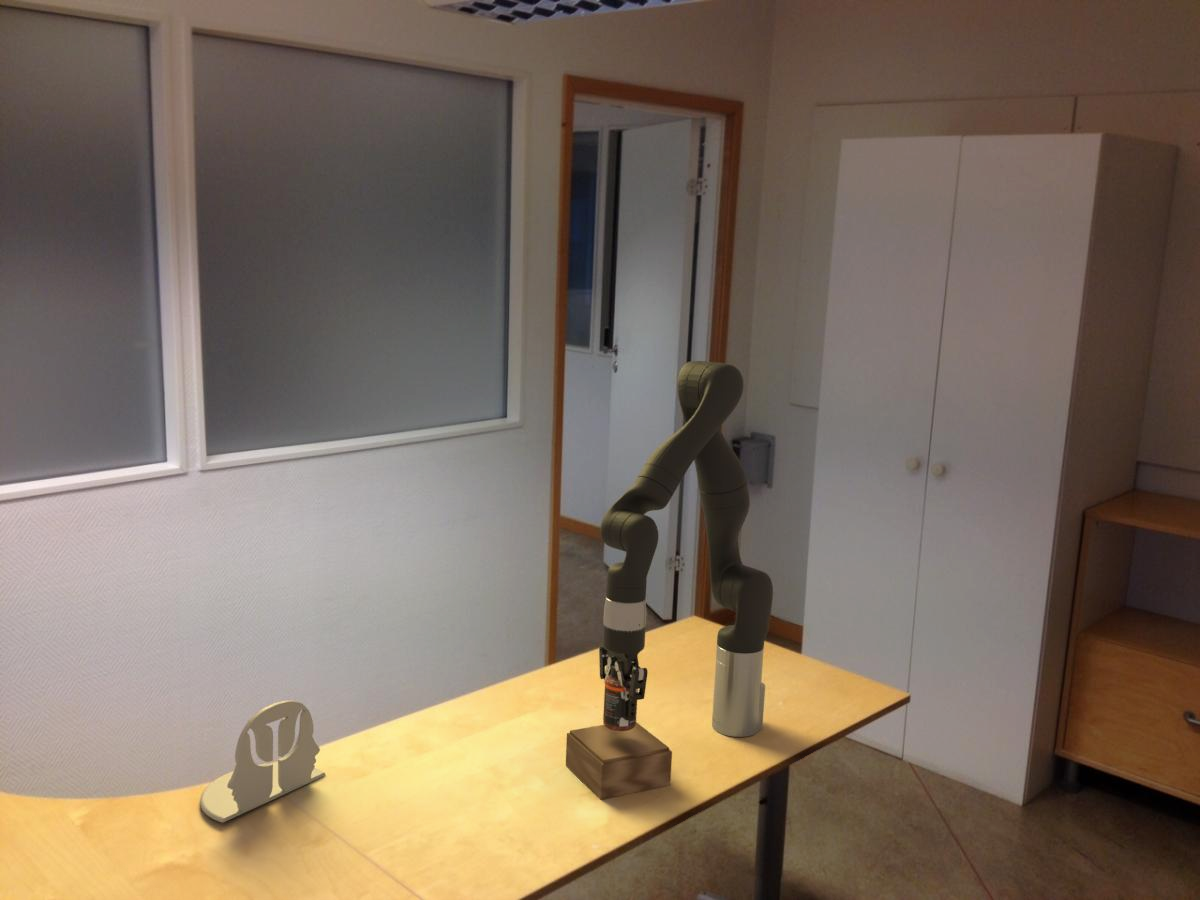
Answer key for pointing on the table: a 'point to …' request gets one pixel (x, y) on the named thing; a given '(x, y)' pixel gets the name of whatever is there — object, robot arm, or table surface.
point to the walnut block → (618, 760)
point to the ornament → (265, 780)
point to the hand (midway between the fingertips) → (620, 711)
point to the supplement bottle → (615, 704)
